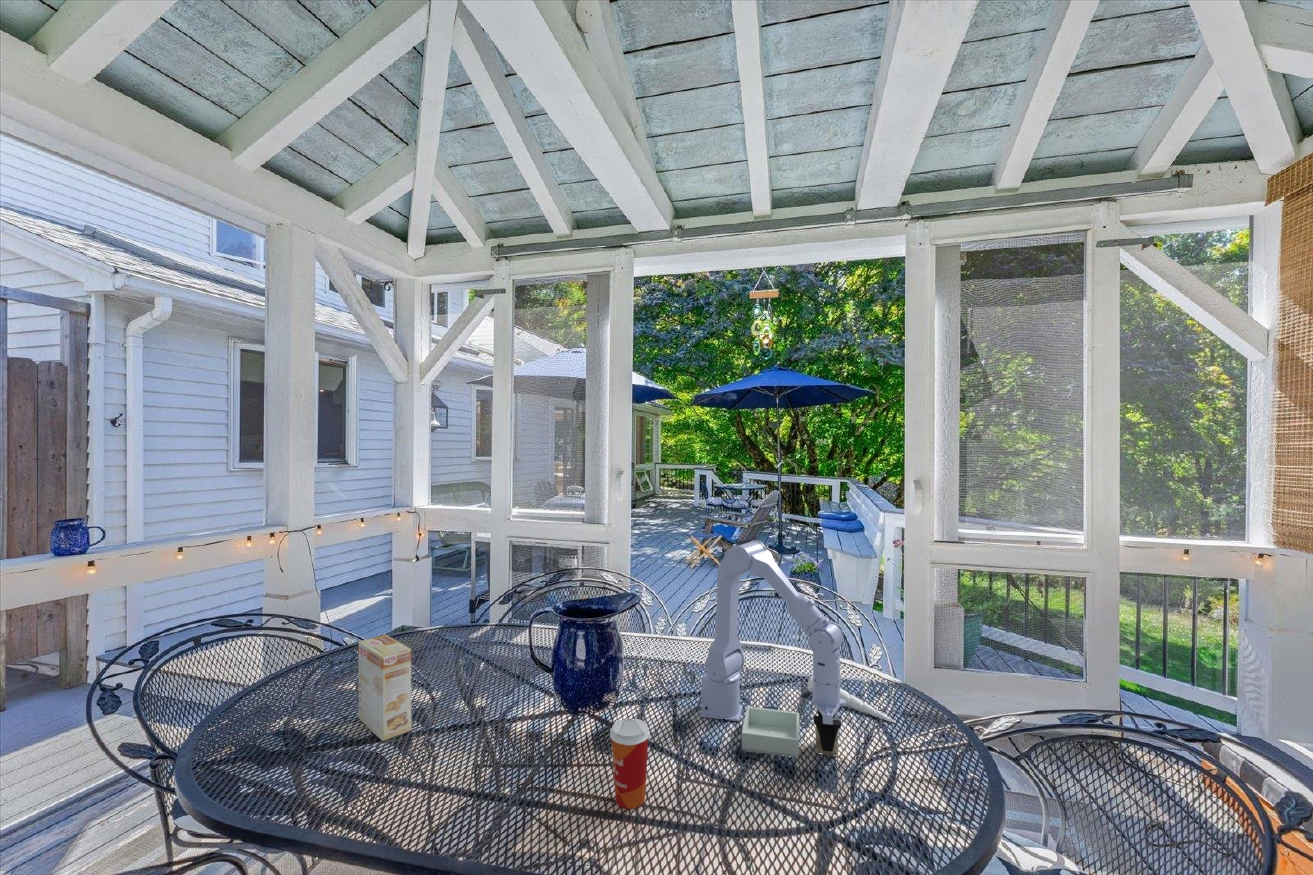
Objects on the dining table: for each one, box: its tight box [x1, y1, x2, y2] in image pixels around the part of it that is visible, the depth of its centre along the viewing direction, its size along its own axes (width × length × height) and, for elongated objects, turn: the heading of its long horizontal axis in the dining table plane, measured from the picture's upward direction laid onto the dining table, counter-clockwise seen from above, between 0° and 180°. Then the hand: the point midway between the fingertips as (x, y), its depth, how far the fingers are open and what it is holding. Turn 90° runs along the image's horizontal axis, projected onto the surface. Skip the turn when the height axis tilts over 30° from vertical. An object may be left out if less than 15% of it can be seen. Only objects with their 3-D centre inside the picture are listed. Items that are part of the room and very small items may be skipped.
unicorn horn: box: [807, 674, 897, 724], centre depth 144 cm, size 5×24×5 cm, turn 37°
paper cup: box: [609, 718, 651, 810], centre depth 108 cm, size 8×8×14 cm
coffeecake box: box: [357, 634, 413, 742], centre depth 136 cm, size 15×7×20 cm, turn 47°
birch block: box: [815, 718, 839, 756], centre depth 124 cm, size 4×4×6 cm
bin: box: [741, 706, 800, 759], centre depth 128 cm, size 12×12×4 cm
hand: (826, 740), depth 124 cm, fingers open, 7 cm apart
